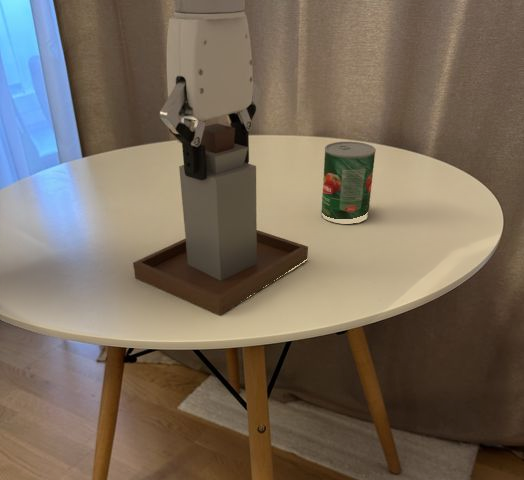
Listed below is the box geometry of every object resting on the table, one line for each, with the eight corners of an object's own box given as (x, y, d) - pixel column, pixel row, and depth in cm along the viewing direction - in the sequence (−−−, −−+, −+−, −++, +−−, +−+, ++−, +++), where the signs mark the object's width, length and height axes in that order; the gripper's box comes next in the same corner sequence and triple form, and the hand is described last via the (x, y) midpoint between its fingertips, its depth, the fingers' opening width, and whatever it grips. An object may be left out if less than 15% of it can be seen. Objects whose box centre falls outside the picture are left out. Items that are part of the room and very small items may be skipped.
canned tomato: (378, 218, 91) (386, 150, 84) (341, 228, 87) (347, 158, 81) (347, 203, 96) (352, 138, 90) (311, 213, 93) (314, 146, 86)
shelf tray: (219, 315, 66) (219, 299, 65) (135, 277, 74) (132, 262, 73) (307, 261, 78) (308, 246, 77) (226, 233, 86) (225, 219, 85)
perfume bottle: (221, 280, 72) (213, 139, 61) (187, 264, 76) (175, 128, 65) (256, 263, 76) (255, 127, 65) (223, 249, 80) (217, 118, 69)
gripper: (236, -5, 65) (240, 148, 76) (121, 4, 54) (144, 181, 65) (286, -3, 61) (283, 158, 72) (174, 7, 50) (189, 196, 61)
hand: (217, 168), depth 68 cm, fingers closed on perfume bottle, 7 cm apart
